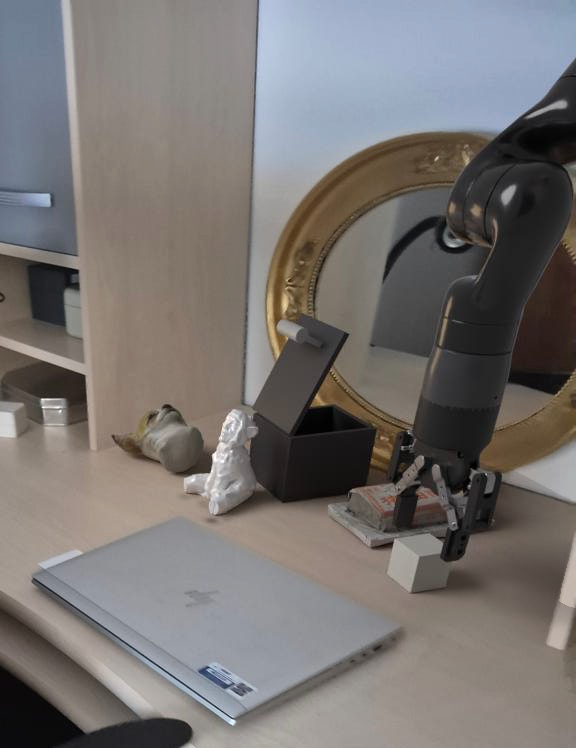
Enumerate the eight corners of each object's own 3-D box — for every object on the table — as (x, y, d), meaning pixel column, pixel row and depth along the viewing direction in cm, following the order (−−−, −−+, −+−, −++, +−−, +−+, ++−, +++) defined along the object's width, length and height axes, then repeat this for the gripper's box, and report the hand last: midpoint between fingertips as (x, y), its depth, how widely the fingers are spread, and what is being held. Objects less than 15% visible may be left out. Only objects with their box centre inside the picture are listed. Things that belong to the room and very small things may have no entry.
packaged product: (451, 464, 109) (504, 493, 101) (443, 498, 112) (494, 529, 104) (330, 480, 105) (376, 513, 97) (324, 515, 107) (368, 550, 99)
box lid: (306, 315, 109) (276, 299, 107) (349, 334, 101) (319, 318, 98) (255, 410, 114) (227, 397, 112) (293, 436, 106) (263, 423, 104)
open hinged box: (325, 463, 122) (334, 403, 117) (365, 491, 114) (377, 428, 109) (247, 473, 119) (253, 412, 114) (282, 502, 111) (290, 438, 106)
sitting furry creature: (179, 489, 114) (184, 403, 108) (233, 480, 117) (241, 394, 111) (213, 517, 107) (221, 425, 100) (270, 506, 110) (282, 416, 103)
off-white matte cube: (420, 568, 96) (429, 532, 93) (445, 587, 92) (455, 550, 90) (386, 574, 95) (394, 538, 92) (410, 593, 91) (419, 556, 89)
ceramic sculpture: (160, 421, 111) (106, 397, 123) (159, 483, 115) (107, 455, 127) (226, 410, 115) (168, 387, 127) (222, 470, 120) (167, 444, 131)
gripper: (545, 412, 77) (498, 567, 86) (447, 370, 88) (414, 511, 97) (477, 419, 75) (436, 578, 84) (386, 376, 86) (358, 519, 95)
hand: (424, 542), depth 91 cm, fingers open, 8 cm apart
